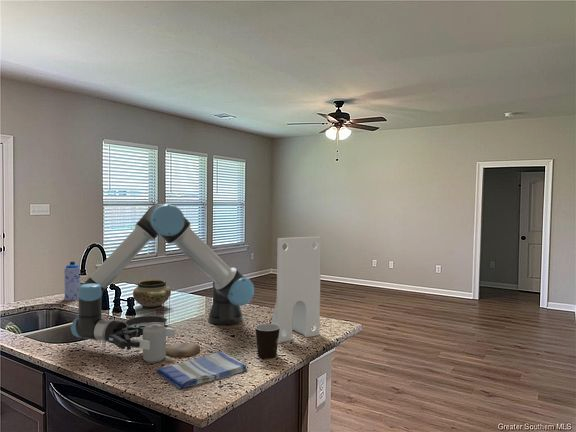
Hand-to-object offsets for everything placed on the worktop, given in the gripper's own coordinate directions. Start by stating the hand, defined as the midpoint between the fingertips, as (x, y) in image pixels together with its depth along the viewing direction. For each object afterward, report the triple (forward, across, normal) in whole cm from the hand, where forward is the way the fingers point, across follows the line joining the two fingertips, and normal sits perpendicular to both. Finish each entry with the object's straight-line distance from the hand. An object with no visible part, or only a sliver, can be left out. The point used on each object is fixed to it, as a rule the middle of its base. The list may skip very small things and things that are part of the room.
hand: (162, 338), depth 141 cm
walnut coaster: (+1, -10, -7) cm, 13 cm away
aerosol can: (-98, -55, -8) cm, 113 cm away
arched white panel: (+30, -44, -8) cm, 53 cm away
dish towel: (+17, +2, -8) cm, 19 cm away
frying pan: (-25, -24, -8) cm, 35 cm away
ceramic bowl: (-48, -57, -8) cm, 74 cm away
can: (-3, 0, -8) cm, 8 cm away
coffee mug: (+31, -19, -8) cm, 37 cm away
